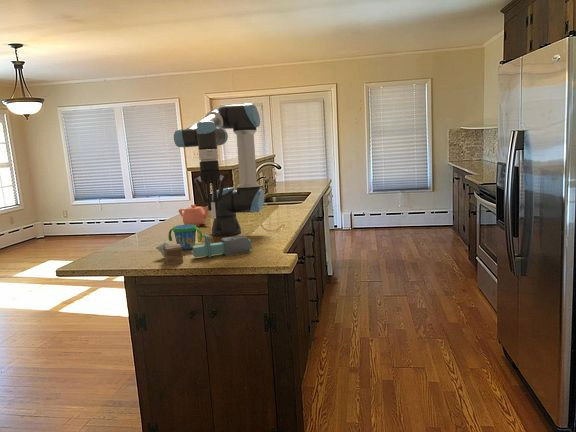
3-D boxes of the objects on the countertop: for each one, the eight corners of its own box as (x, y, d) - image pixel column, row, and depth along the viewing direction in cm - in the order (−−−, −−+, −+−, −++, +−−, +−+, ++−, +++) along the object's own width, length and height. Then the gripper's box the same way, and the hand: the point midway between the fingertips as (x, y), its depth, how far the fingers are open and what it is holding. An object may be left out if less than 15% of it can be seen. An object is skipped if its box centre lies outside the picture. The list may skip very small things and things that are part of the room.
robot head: (156, 259, 193) (154, 243, 191) (159, 256, 197) (158, 241, 195) (174, 258, 192) (172, 242, 190) (177, 256, 196) (176, 240, 194)
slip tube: (193, 256, 192) (191, 236, 190) (248, 248, 200) (247, 229, 198) (195, 259, 186) (193, 238, 185) (252, 251, 194) (251, 231, 193)
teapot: (208, 227, 261) (206, 205, 259) (175, 227, 265) (173, 207, 263) (216, 222, 274) (214, 202, 272) (184, 223, 277) (182, 203, 276)
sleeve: (222, 252, 196) (221, 238, 195) (245, 249, 200) (244, 235, 199) (226, 256, 190) (224, 241, 189) (249, 252, 194) (248, 237, 192)
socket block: (166, 260, 189) (164, 245, 188) (180, 258, 191) (179, 243, 190) (167, 264, 182) (166, 248, 181) (183, 262, 184) (181, 246, 183)
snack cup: (207, 245, 212) (205, 224, 210) (196, 251, 202) (194, 228, 200) (177, 245, 217) (175, 224, 215) (165, 250, 207) (162, 228, 205)
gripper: (194, 161, 180) (199, 221, 184) (226, 159, 185) (231, 217, 188) (191, 161, 187) (196, 218, 191) (222, 159, 192) (227, 215, 195)
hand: (213, 218), depth 189 cm, fingers closed
